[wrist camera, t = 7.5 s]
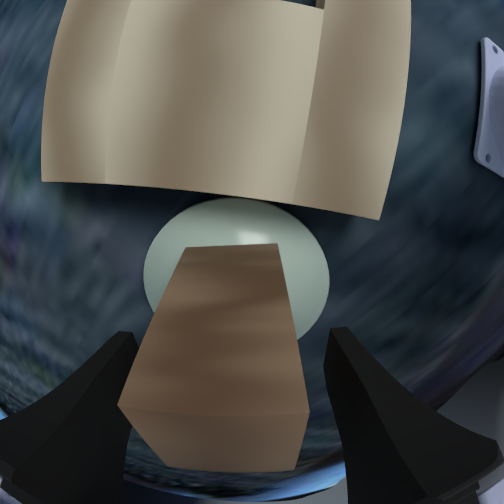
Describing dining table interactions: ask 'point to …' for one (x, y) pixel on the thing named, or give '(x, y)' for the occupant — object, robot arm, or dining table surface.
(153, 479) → the dining table surface
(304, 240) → the coaster
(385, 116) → the board
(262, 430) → the walnut block
